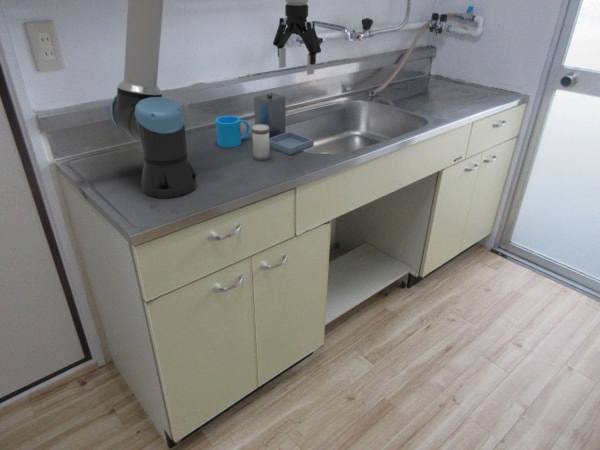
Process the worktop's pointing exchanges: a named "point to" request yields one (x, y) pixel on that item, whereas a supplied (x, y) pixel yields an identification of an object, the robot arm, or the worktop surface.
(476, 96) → the worktop surface
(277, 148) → the tray
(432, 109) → the worktop surface
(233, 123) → the mug
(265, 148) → the cylinder
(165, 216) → the worktop surface
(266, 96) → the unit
